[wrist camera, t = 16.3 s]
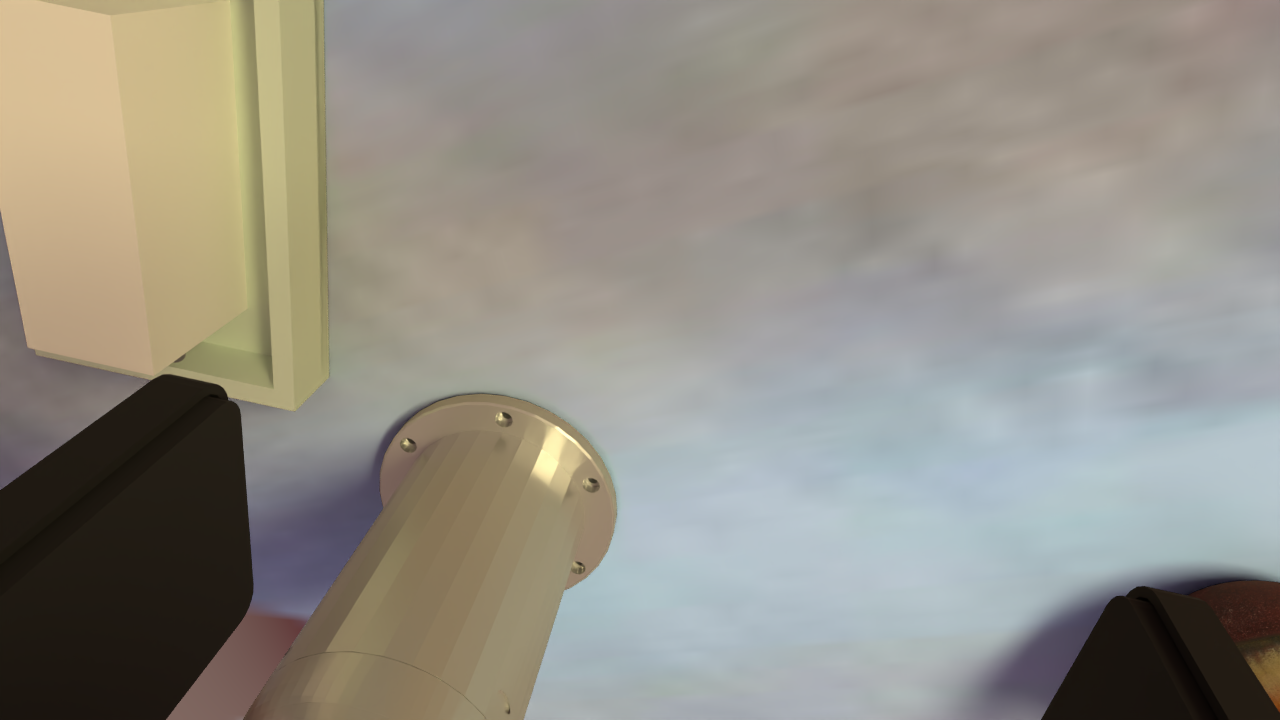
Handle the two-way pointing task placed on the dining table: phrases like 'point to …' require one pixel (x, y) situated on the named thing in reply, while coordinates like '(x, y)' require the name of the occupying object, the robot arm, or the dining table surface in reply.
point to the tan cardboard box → (121, 176)
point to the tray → (273, 214)
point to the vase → (1251, 625)
